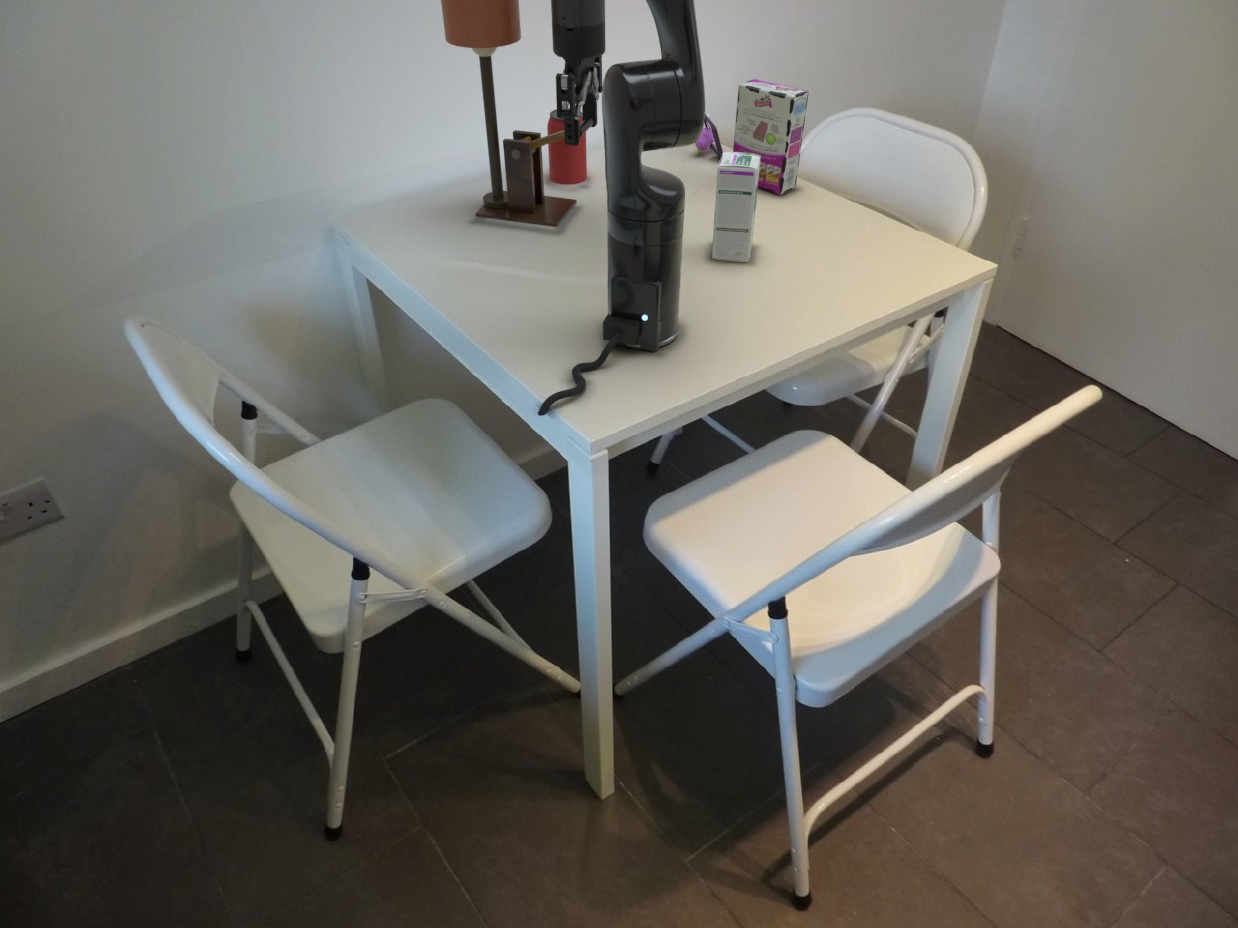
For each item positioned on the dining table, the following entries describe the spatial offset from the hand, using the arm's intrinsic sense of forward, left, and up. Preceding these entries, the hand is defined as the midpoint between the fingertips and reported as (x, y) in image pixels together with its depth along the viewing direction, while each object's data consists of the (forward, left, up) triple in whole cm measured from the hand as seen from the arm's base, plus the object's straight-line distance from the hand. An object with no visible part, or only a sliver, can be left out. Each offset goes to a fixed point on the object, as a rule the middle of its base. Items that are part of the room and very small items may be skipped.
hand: (581, 135), depth 128 cm
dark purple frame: (+36, -13, -14) cm, 41 cm away
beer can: (+15, +8, -14) cm, 22 cm away
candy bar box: (+25, -25, -14) cm, 38 cm away
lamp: (0, +15, -12) cm, 19 cm away
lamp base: (0, +10, -14) cm, 17 cm away
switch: (0, +5, -2) cm, 5 cm away
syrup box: (-4, -25, -14) cm, 29 cm away
